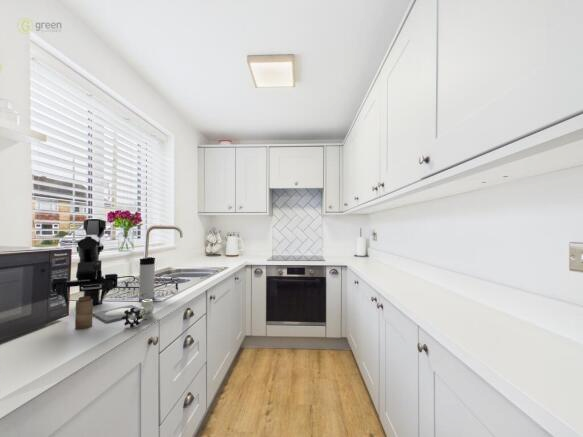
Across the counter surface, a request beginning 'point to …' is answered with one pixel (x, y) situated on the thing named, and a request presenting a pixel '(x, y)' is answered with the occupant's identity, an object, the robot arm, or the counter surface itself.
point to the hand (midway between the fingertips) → (84, 303)
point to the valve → (139, 313)
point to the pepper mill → (84, 313)
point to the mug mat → (114, 314)
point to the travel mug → (146, 278)
